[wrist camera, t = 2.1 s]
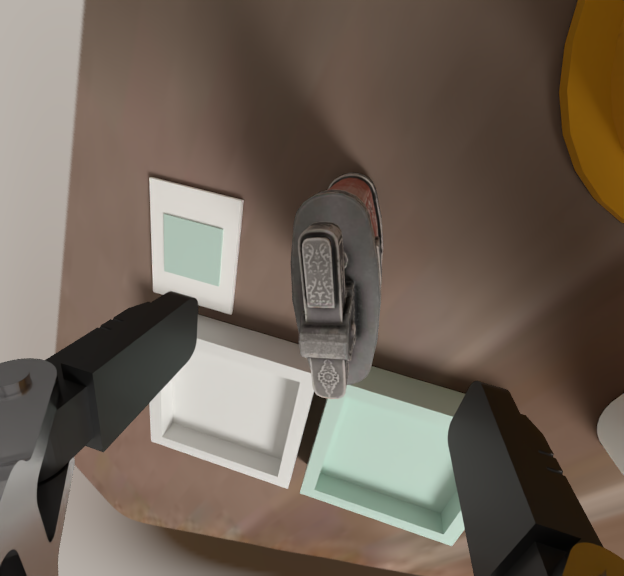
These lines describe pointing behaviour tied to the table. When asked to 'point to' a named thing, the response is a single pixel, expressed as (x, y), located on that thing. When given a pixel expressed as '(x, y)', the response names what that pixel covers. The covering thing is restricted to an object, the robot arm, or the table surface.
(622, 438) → the cylindrical container
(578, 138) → the spool
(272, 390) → the white tray
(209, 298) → the card
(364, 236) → the lighter
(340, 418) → the green tray
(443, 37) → the table surface
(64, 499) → the robot arm
